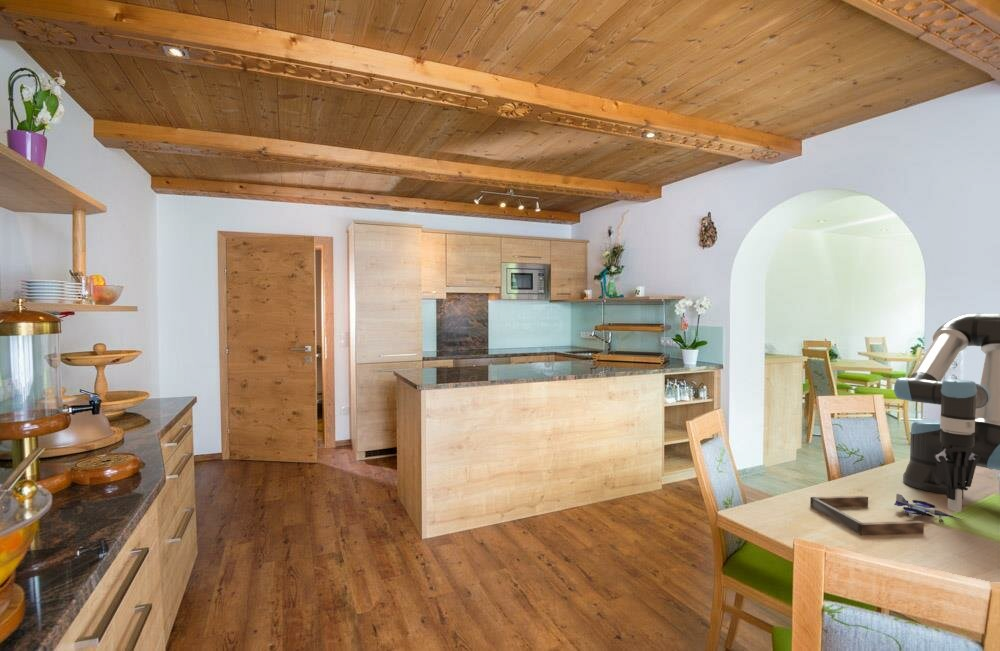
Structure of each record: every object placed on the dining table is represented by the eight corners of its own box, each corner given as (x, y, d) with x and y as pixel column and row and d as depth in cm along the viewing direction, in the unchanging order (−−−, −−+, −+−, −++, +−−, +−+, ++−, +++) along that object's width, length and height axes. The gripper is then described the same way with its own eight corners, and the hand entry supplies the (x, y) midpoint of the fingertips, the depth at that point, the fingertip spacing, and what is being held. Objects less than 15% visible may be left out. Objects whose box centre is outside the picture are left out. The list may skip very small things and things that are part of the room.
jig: (864, 504, 151) (865, 495, 151) (923, 533, 132) (923, 522, 132) (810, 506, 150) (810, 497, 150) (861, 535, 131) (861, 524, 130)
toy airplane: (967, 529, 134) (967, 517, 134) (908, 524, 138) (909, 511, 138) (938, 511, 147) (938, 499, 147) (885, 506, 150) (885, 495, 150)
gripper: (949, 435, 138) (947, 515, 139) (991, 434, 139) (988, 514, 140) (924, 428, 145) (922, 505, 146) (964, 428, 146) (961, 504, 147)
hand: (954, 509), depth 143 cm, fingers closed
